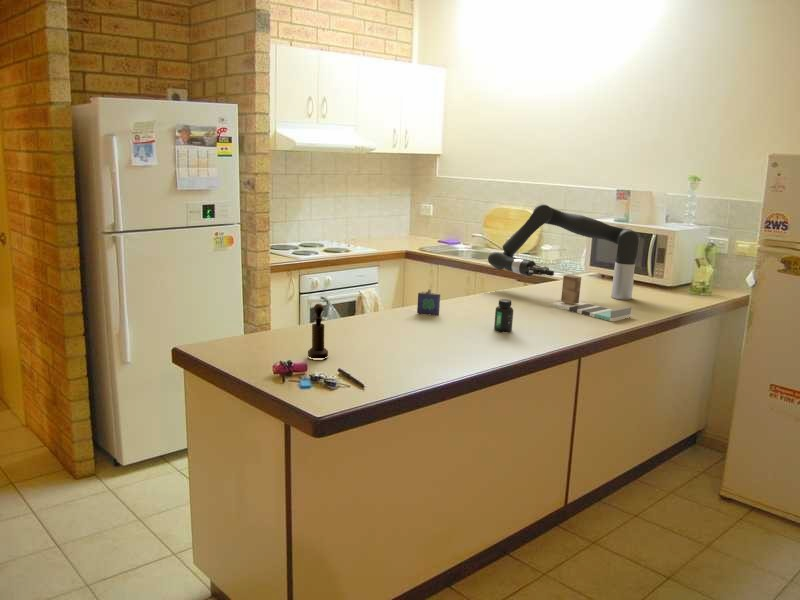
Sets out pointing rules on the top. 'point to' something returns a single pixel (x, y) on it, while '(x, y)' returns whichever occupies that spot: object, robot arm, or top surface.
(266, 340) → the top surface
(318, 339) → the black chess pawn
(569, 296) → the slider block
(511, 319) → the supplement bottle
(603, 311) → the track
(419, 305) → the flask
